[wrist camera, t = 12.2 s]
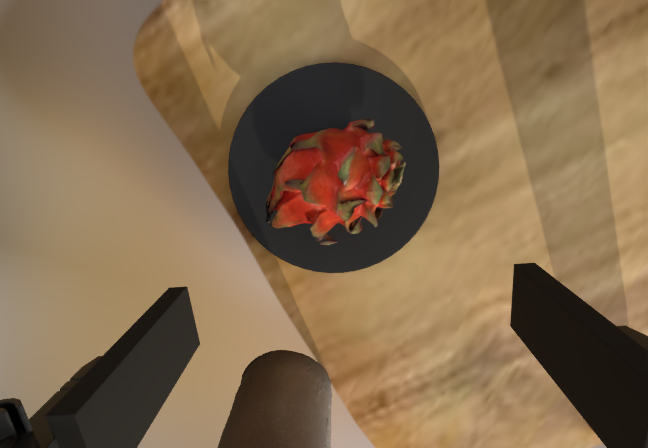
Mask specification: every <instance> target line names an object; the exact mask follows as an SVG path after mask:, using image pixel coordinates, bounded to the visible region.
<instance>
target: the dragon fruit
mask: <svg viewBox="0 0 648 448" xmlns="http://www.w3.org/2000/svg"><path fill="white" fill-rule="evenodd" d="M374 127H375V124H374V120H373V119H360V120H357V121H354V122H350V123H349V125H348V126H347V128H345V129H344V130H339V129H337V128H328V129H325V130H321V131H319V132H315V133H308V134H306V133H305V134H302V135H299V136H297V137H295V138H294V139H293V140H292V141H291V143H290V145H289V148H288V150H287V151H286V153H285V154H284V155H283V157H282V158H281V160H280V161H279V162H278V164H277V165H276V166H277V167H275V169H274V171H273V173H272V175H273V176H274V174H275V179H274V183H273V187H272V190H271V192H270V194H269V196H268V198H267V201H266V213H267V216H266V223H270V222H271V220H270V218H271V215H272V214H273V212H274V211H276V210H277V211H278V212H277V213H276V216H275V217H274V218H273V221H272V223H271V224H270V225H269V226H270V227H273V228H274V229H275V228H277V229H280V228H284V227H291V226H294V225H297V224H302V223H309V224H313V225H312V226H311V228H309V229H310V230H311V233H312V235H313V236H314V237H316V240H317V242H318V241H321V240H322V239H323V238H324V239H325V241H322V242H319V243H320V244H321V245H330V244H333V243H337V241H335V240H333V239H332V238H331V237H330V236H328V235H327V234H326V233H327V232H328V231H329V230H330V229H332V227H333V226H334V225H336V224H337V223H341V224H343V225H344V226H345V228H346V230H347V231H348V232H349V233H351V234H356V233H357V234H358V233H359V232H360V231H361V230H362V225H361V219H362V218H363V217H365V218H366V219H367V220H369V221H370V222H371V223H372V224H373V225H374V226H375V227H377V226H378V222H377V219H379V218H380V217H381V216H382V209H379V208H376V207H381V208H393V198H392V196H391V195H394V194H395V193H396V191H397V189H398V186H399V185H400V183H402V182H401V179H402V178H403V172H404V167H405V165H406V163H405V162H404V161H403V162H402V163H401V160H403V156H402V155H401V153H399V152H397V150H399V149H401V150H402V151H403V152H404V150H403V147H402V146H400V145H399V144H398V143H397V142H395V141H392V140H389V139H388V138H384V137H382V133H370V134H369V133H368V132H366V131H367V130H371V129H373V128H374ZM404 153H405V152H404ZM279 166H280V167H279ZM360 216H361V217H360ZM358 217H360V218H359V219H358V220H357V221H356V223H355V224H354V221H355V220H356V219H357V218H358ZM277 235H278V234H277Z"/></svg>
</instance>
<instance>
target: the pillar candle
mask: <svg viewBox="0 0 648 448" xmlns="http://www.w3.org/2000/svg"><path fill="white" fill-rule="evenodd" d="M331 398H332V392H331V382H330V380H329V378H328V374H327V373H326V371H325V370H324V368H323V367H322V366H321V365H320V364H319V363H318V362H316V361H315V360H313V359H312V358H310V357H309V356H306V355H304V354H301V353H297V352H293V351H287V350H276V351H271V352H268V353H265V354H263V355H262V356H259V357H257V358H255V359H254V360H253V361H252V362H251V363H250V364H249V365H248V366H247V368H246V369H245V371H244V373H243V375H242V380H241V385H240V387H239V389H238V391H237V393H236V396H235V400H234V403H233V406H232V410H231V412H230V415H229V418H228V420H227V423H226V426H225V428H224V430H223V433H222V436H221V439H220V442H219V446H218V448H331Z"/></svg>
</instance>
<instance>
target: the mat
mask: <svg viewBox="0 0 648 448" xmlns="http://www.w3.org/2000/svg"><path fill="white" fill-rule="evenodd" d="M360 119H373V120H374V124H375V127H374V128H373V129H371V130H367V131H366V132H368V133H369V134H370V133H382V137H384V138H388V139H389V140H392V141H395V142H397V143H398V144H399V145H400V146H402V147H403V150H404V152H405V153H404V152H403V151H402V150H401V149H399V150H397V152H399V153H401V155H402V156H403V160H401V163H402V162H403V161H404V162H405V163H406V165H405V167H404V172H403V178H402V179H401V182H402V183H400V185H399V186H398V189H397V191H396V193H395V194H394V195H391V196H392V198H393V208H381V207H376V208H379V209H382V216H381V217H380V218H379V219H377V222H378V226H377V227H375V226H374V225H373V224H372V223H371V222H370V221H369V220H367V219H366V218H365V217H363V218H362V219H361V225H362V230H361V231H360V232H359V233H358V234H357V233H356V234H351V233H349V232H348V231H347V230H346V228H345V226H344V225H343V224H341V223H337V224H336V225H334V226H333V227H332V229H330V230H329V231H328V232H327V233H326V234H327V235H328V236H330V237H331V238H332V239H333V240H335V241H337V243H333V244H330V245H321V244H320V243H319V242H322V241H325V239H324V238H323V239H322V240H321V241H318V242H317V240H316V237H314V236H313V235H312V233H311V230H310V229H309V228H311V226H312V225H313V224H309V223H302V224H297V225H294V226H291V227H284V228H280V229H277V228H275V229H274V228H273V227H270V226H269V225H270V224H271V223H272V221H273V218H274V217H275V216H276V213H277V212H278V211H277V210H276V211H274V212H273V214H272V215H271V218H270V220H271V222H270V223H266V216H267V213H266V201H267V198H268V196H269V194H270V192H271V190H272V187H273V183H274V179H275V174H274V176H273V175H272V173H273V171H274V169H275V167H277V166H276V165H277V164H278V162H279V161H280V160H281V158H282V157H283V155H284V154H285V153H286V151H287V150H288V148H289V145H290V143H291V141H292V140H293V139H294V138H295V137H297V136H299V135H302V134H305V133H306V134H308V133H315V132H319V131H321V130H325V129H328V128H337V129H339V130H344V129H345V128H347V126H348V125H349V123H350V122H354V121H357V120H360ZM279 167H280V166H279ZM438 179H439V158H438V150H437V145H436V141H435V137H434V134H433V132H432V129H431V126H430V124H429V122H428V120H427V118H426V116H425V114H424V113H423V111H422V110H421V108H420V107H419V106H418V104H417V103H416V101H415V100H414V99H413V98H412V97H411V96H410V95H409V94H408V93H407V92H406V91H405V90H404V89H403V88H402V87H400V86H399V85H398V84H397V83H395V82H394V81H393V80H391V79H389V78H387V77H386V76H384V75H382V74H381V73H378V72H376V71H373V70H371V69H368V68H366V67H361V66H357V65H353V64H345V63H321V64H315V65H310V66H306V67H303V68H300V69H297V70H294V71H292V72H290V73H288V74H286V75H284V76H282V77H280V78H278V79H277V80H276V81H274V82H273V83H271V84H270V85H268V86H267V87H266V88H265V89H264V90H263V91H262V92H261V93H260V94H258V95H257V96H256V98H255V99H254V100H253V101H252V103H251V104H250V105H249V106H248V108H247V109H246V111H245V112H244V114H243V116H242V117H241V119H240V121H239V123H238V126H237V128H236V130H235V133H234V136H233V140H232V143H231V147H230V154H229V182H230V189H231V193H232V197H233V200H234V203H235V205H236V208H237V211H238V213H239V215H240V217H241V218H242V220H243V222H244V224H245V225H246V227H247V228H248V229H249V231H250V232H251V234H252V235H253V236H254V237H255V238H256V239H257V240H258V241H259V242H260V243H261V244H262V245H263V246H264V247H265V248H266V249H268V250H269V251H270V252H271V253H273V254H274V255H276V256H277V257H279V258H280V259H282V260H284V261H286V262H288V263H290V264H292V265H295V266H298V267H301V268H303V269H307V270H312V271H316V272H326V273H343V272H350V271H356V270H360V269H363V268H367V267H370V266H372V265H374V264H377V263H379V262H381V261H383V260H385V259H387V258H388V257H390V256H392V255H393V254H394V253H396V252H397V251H398V250H400V249H401V248H402V247H403V246H404V245H405V244H406V243H408V242H409V241H410V240H411V238H412V237H413V236H414V235H415V234H416V233H417V231H418V230H419V229H420V227H421V226H422V224H423V222H424V221H425V219H426V217H427V215H428V213H429V211H430V209H431V207H432V204H433V201H434V198H435V195H436V190H437V185H438ZM360 217H361V216H360ZM360 217H358V218H357V219H356V220H355V221H354V224H355V223H356V221H357V220H358V219H359V218H360ZM277 234H278V235H277Z"/></svg>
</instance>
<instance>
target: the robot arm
mask: <svg viewBox="0 0 648 448" xmlns="http://www.w3.org/2000/svg"><path fill="white" fill-rule="evenodd" d="M510 326H511V327H512V329H513V330H514V331H515V332H516V334H517V335H518V336H519V337H520V339H521V340H522V341H523V343H524V344H525V345H526V346H527V348H528V349H529V350H530V351H531V353H532V354H533V355H534V356H535V358H536V359H537V360H538V361H539V363H540V364H541V365H542V366H543V368H544V369H545V370H546V371H547V373H548V374H549V375H550V377H551V378H552V379H553V380H554V382H555V383H556V384H557V385H558V387H559V388H560V389H561V390H562V392H563V393H564V394H565V395H566V397H567V398H568V399H569V400H570V402H571V403H572V404H573V405H574V407H575V408H576V409H577V411H578V412H579V413H580V414H581V416H582V417H583V418H584V419H585V421H586V422H587V423H588V424H589V426H590V427H591V428H592V429H593V431H594V432H595V433H596V434H597V436H598V437H599V438H600V439H601V441H602V442H603V443H604V445H605V446H606V447H607V448H648V336H646V335H644V334H642V333H640V332H638V331H636V330H633V329H631V328H629V327H627V326H615V325H614V324H613V323H611V322H610V321H609V320H608V319H606V318H605V317H604V316H602V315H601V314H600V313H599V312H597V311H596V310H595V309H593V308H592V307H591V306H590V305H588V304H587V303H586V302H584V301H583V300H582V299H581V298H579V297H578V296H577V295H575V294H574V293H573V292H572V291H570V290H569V289H568V288H566V287H565V286H564V285H563V284H561V283H560V282H559V281H557V280H556V279H555V278H554V277H552V276H551V275H550V274H548V273H547V272H546V271H544V270H543V269H542V268H541V267H539V266H538V265H537V264H535V263H525V264H514V276H513V292H512V308H511V325H510ZM199 345H200V342H199V337H198V333H197V328H196V324H195V320H194V315H193V311H192V306H191V302H190V297H189V293H188V289H187V287H175V288H169V289H168V290H167V291H166V292H165V293H164V294H163V295H162V296H161V297H160V298H159V299H158V300H157V301H156V302H155V303H154V304H153V305H152V306H151V307H150V308H149V309H148V310H147V311H146V312H145V313H144V314H143V315H142V316H141V317H140V318H139V319H138V320H137V321H136V323H134V324H133V325H132V327H131V328H130V329H129V330H128V331H127V332H126V333H125V334H124V335H123V336H122V337H121V338H120V339H119V340H118V341H117V342H116V343H115V344H114V345H113V346H112V347H111V348H110V349H109V350H108V351H107V352H106V353H105V354H104V355H103V356H98V357H97V358H95V359H94V360H92V361H91V362H89V363H88V364H86V365H85V366H83V367H82V368H81V369H80V370H79V371H78V372H77V373H76V374H75V375H74V376H73V377H72V378H71V379H70V381H68V382H67V383H65V384H64V385H63V386H62V387H61V388H60V391H58V392H57V393H55V394H54V395H53V396H52V397H51V398H50V399H49V400H48V401H47V402H46V403H45V404H44V405H43V406H42V407H41V408H40V409H39V410H38V411H37V412H36V413H35V414H34V415H33V416H32V417H31V418H30V419H28V417H27V415H26V412H25V410H24V407H23V405H22V403H21V401H20V400H19V399H15V398H11V399H3V400H0V448H137V447H138V445H139V443H140V442H141V440H142V439H143V437H144V435H145V434H146V432H147V430H148V429H149V427H150V425H151V423H152V422H153V420H154V419H155V417H156V415H157V414H158V412H159V410H160V409H161V407H162V405H163V404H164V402H165V401H166V399H167V397H168V396H169V394H170V392H171V391H172V389H173V387H174V386H175V384H176V382H177V381H178V379H179V377H180V376H181V374H182V373H183V371H184V369H185V368H186V366H187V364H188V363H189V361H190V359H191V358H192V356H193V354H194V353H195V351H196V350H197V348H198V346H199Z"/></svg>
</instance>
